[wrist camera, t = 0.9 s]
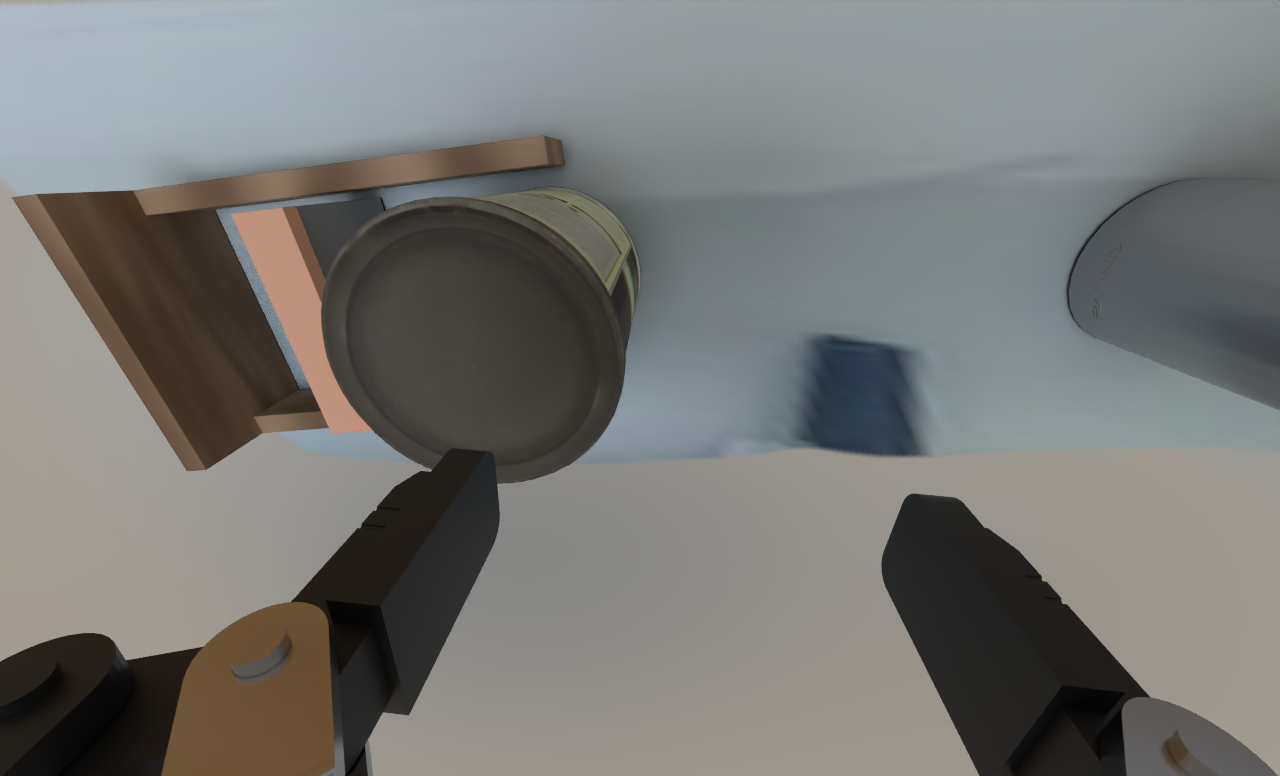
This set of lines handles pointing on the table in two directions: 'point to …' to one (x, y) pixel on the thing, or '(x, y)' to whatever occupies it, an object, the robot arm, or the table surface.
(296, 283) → the pusher paddle
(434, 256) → the coffee can
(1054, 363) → the table surface
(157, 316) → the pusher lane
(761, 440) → the table surface
